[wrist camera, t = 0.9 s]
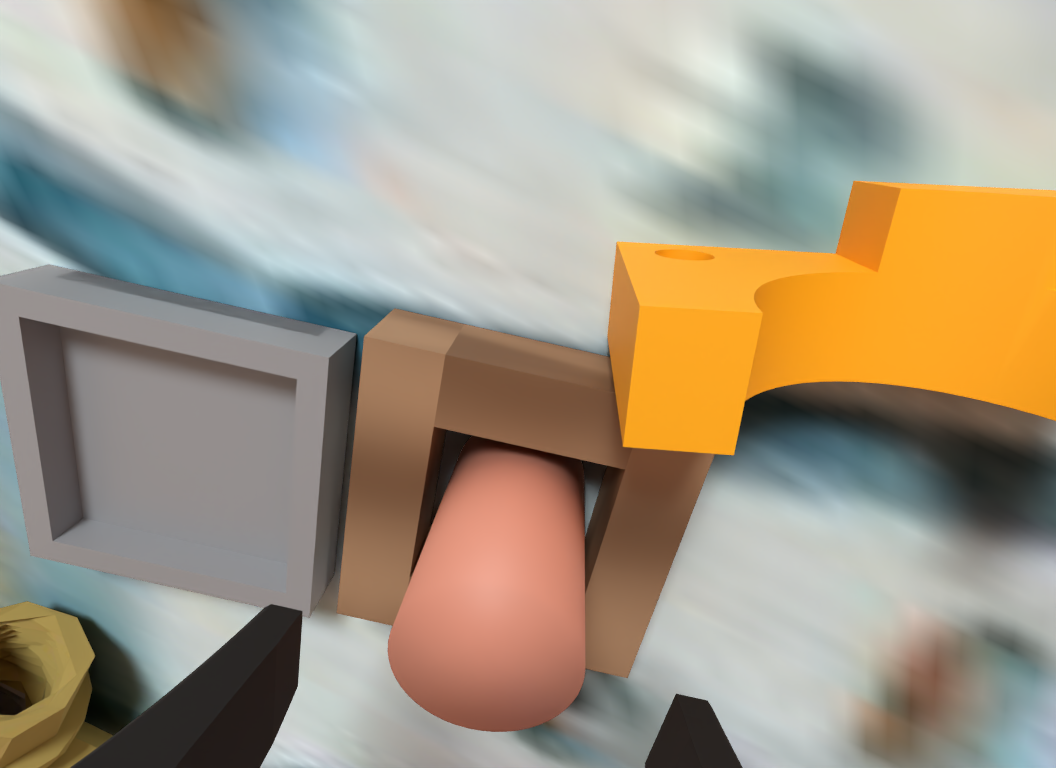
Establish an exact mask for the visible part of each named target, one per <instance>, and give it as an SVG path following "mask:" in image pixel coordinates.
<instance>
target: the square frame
mask: <svg viewBox="0 0 1056 768" xmlns="http://www.w3.org/2000/svg"><path fill="white" fill-rule="evenodd" d="M446 429H447V430H451V431H456V432H460V433H464V434H469V435H473V436H478V437H482V438H487V439H491V440H496V441H500V442H505V443H509V444H513V445H518V446H522V447H527V448H531V449H536V450H540V451H545V452H549V453H553V454H558V455H562V456H567V457H571V458H576V459H580V460H585V461H589V462H593V463H598V464H602V465H607V468H606V471H605V474H604V477H603V481H602V484H601V487H600V490H599V494H598V497H597V500H596V504H595V507H594V510H593V513H592V517H591V520H590V523H589V526H588V530H587V533H586V536H585V664H586V666H585V669H589V670H594V671H598V672H603V673H607V674H612V675H616V676H621V677H625V678H628V675H629V673H630V670H631V668H632V665H633V663H634V660H635V657H636V655H637V652H638V650H639V647H640V645H641V642H642V640H643V637H644V634H645V632H646V629H647V627H648V624H649V622H650V619H651V616H652V614H653V611H654V609H655V606H656V604H657V601H658V598H659V596H660V593H661V591H662V588H663V586H664V583H665V581H666V578H667V575H668V573H669V570H670V568H671V565H672V563H673V560H674V557H675V555H676V552H677V550H678V547H679V545H680V542H681V540H682V537H683V534H684V532H685V529H686V527H687V524H688V522H689V519H690V516H691V514H692V511H693V509H694V506H695V504H696V501H697V498H698V496H699V493H700V491H701V488H702V486H703V483H704V481H705V478H706V475H707V473H708V470H709V468H710V465H711V463H712V460H713V457H714V455H715V454H711V453H697V452H684V451H671V450H658V449H644V448H631V447H623V443H622V436H621V429H620V422H619V415H618V408H617V401H616V393H615V386H614V379H613V372H612V365H611V358H610V357H608V356H603V355H599V354H594V353H590V352H585V351H581V350H577V349H572V348H568V347H563V346H559V345H554V344H550V343H546V342H541V341H537V340H532V339H528V338H523V337H519V336H515V335H510V334H506V333H501V332H497V331H492V330H488V329H484V328H479V327H475V326H470V325H466V324H461V323H457V322H453V321H448V320H444V319H439V318H435V317H430V316H426V315H422V314H417V313H413V312H408V311H404V310H399V309H394V310H392V311H391V312H390V313H389V314H388V315H387V316H386V317H385V318H384V319H383V320H381V321H380V322H379V323H378V324H377V325H376V326H375V327H374V328H373V329H372V330H371V331H369V332H368V333H367V334H366V335H365V336H364V344H363V354H362V364H361V374H360V384H359V394H358V404H357V414H356V424H355V434H354V444H353V454H352V464H351V474H350V484H349V494H348V504H347V514H346V524H345V534H344V544H343V554H342V564H341V574H340V584H339V595H338V605H337V613H338V614H343V615H347V616H352V617H356V618H361V619H365V620H370V621H374V622H379V623H383V624H388V625H392V626H393V624H394V622H395V619H396V616H397V614H398V611H399V609H400V606H401V604H402V601H403V598H404V596H405V593H406V591H407V588H408V586H409V583H410V580H411V578H412V575H413V573H414V570H415V568H416V565H417V562H418V560H419V557H420V555H421V552H422V550H423V547H424V544H425V542H426V539H427V537H428V534H429V532H430V529H431V526H432V524H430V522H431V516H432V510H433V505H434V499H435V493H436V487H437V481H438V475H439V470H440V464H441V458H442V452H443V446H444V440H445V435H446Z"/></svg>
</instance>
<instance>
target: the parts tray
mask: <svg viewBox="0 0 1056 768" xmlns="http://www.w3.org/2000/svg"><path fill="white" fill-rule="evenodd" d="M356 336H357V334H356V333H351V332H347V331H342V330H338V329H333V328H329V327H324V326H320V325H316V324H311V323H307V322H302V321H298V320H293V319H289V318H285V317H280V316H276V315H271V314H267V313H262V312H258V311H254V310H249V309H245V308H240V307H236V306H231V305H227V304H222V303H218V302H214V301H209V300H205V299H200V298H196V297H191V296H187V295H183V294H178V293H174V292H169V291H165V290H160V289H156V288H152V287H147V286H143V285H138V284H134V283H129V282H125V281H120V280H116V279H112V278H107V277H103V276H98V275H94V274H89V273H85V272H81V271H76V270H72V269H67V268H63V267H58V266H54V265H50V264H49V265H45V266H40V267H36V268H32V269H28V270H23V271H19V272H15V273H11V274H7V275H2V276H0V380H1V386H2V392H3V397H4V403H5V409H6V415H7V421H8V426H9V432H10V438H11V444H12V450H13V455H14V461H15V467H16V473H17V479H18V484H19V490H20V496H21V502H22V508H23V514H24V519H25V525H26V531H27V537H28V543H29V548H30V554H31V556H35V557H39V558H44V559H48V560H53V561H57V562H62V563H66V564H71V565H75V566H80V567H84V568H89V569H93V570H98V571H102V572H107V573H111V574H115V575H120V576H124V577H129V578H133V579H138V580H142V581H147V582H151V583H156V584H160V585H165V586H169V587H174V588H178V589H183V590H187V591H192V592H196V593H201V594H205V595H210V596H214V597H219V598H223V599H228V600H232V601H236V602H241V603H245V604H250V605H254V606H259V607H263V608H265V607H266V606H268V605H270V604H274V605H278V606H283V607H287V608H292V609H296V610H301V611H303V614H302V616H304V617H308V618H310V616H311V614H312V612H313V611H314V609H315V607H316V605H317V604H318V602H319V600H320V598H321V597H322V595H323V593H324V591H325V590H326V588H327V586H328V584H329V582H330V581H331V579H332V577H333V575H334V570H335V559H336V549H337V538H338V527H339V517H340V506H341V495H342V485H343V474H344V463H345V453H346V442H347V431H348V421H349V410H350V400H351V389H352V378H353V368H354V357H355V346H356Z"/></svg>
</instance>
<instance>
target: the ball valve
mask: <svg viewBox="0 0 1056 768" xmlns="http://www.w3.org/2000/svg"><path fill="white" fill-rule="evenodd" d="M94 657H95V654H94V652H93V650H92V648H91V646H90V644H89V642H88V640H87V637H86V635H85V633H84V631H83V629H82V627H81V625H80V623H79V620H78V618H77V617H74V616H71V615H68V614H65V613H62V612H59V611H56V610H52V609H49V608H46V607H43V606H40V605H37V604H34V603H31V602H28V601H27V602H23V603H19V604H15V605H11V606H7V607H3V608H0V768H70V767H71V766H73V765H74V764H76V763H77V762H78V761H80V760H81V759H83V758H84V757H85V756H87V755H88V754H89V753H91V752H92V751H94V750H95V749H96V748H98V747H99V746H100V745H102V744H103V743H104V742H106V741H107V740H108V739H110V738H111V737H112V736H113V735H111V734H109V733H107V732H105V731H103V730H101V729H99V728H97V727H95V726H93V725H91V724H89V723H87V722H85V721H84V720H85V717H86V713H87V708H88V704H89V700H90V696H91V692H92V685H91V681H90V676H89V672H88V670H89V667H90V665H91V663H92V661H93V659H94Z"/></svg>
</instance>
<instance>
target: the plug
mask: <svg viewBox="0 0 1056 768" xmlns="http://www.w3.org/2000/svg"><path fill="white" fill-rule="evenodd" d="M388 656H389V662H390V665H391V669H392V671H393V673H394V676H395V678H396V680H397V681H398V683H399V684H400V686H401V687H402V688H403V690H404V691H405V692H406V693H407V694H408V696H409V697H411V698H412V699H413V700H414V701H415V702H416V703H417V704H418V705H420V706H421V707H422V708H424V709H425V710H427V711H428V712H430V713H431V714H433V715H435V716H437V717H439V718H441V719H443V720H445V721H447V722H450V723H453V724H455V725H458V726H462V727H466V728H469V729H475V730H481V731H491V732H506V731H517V730H522V729H527V728H531V727H534V726H537V725H540V724H542V723H544V722H547V721H549V720H551V719H552V718H554V717H556V716H557V715H559V714H560V713H561V712H563V711H564V710H565V709H566V708H567V707H568V706H569V705H570V704H571V703H572V702H573V701H574V699H575V698H576V696H577V695H578V693H579V691H580V689H581V687H582V685H583V681H584V677H585V666H586V664H585V505H584V469H583V465H582V462H581V460H580V459H576V458H571V457H567V456H562V455H558V454H553V453H549V452H545V451H540V450H536V449H531V448H527V447H522V446H518V445H513V444H509V443H505V442H500V441H496V440H491V439H487V438H482V437H478V436H471V437H470V439H469V440H468V441H467V442H466V443H465V445H464V447H463V448H462V450H461V452H460V455H459V457H458V460H457V462H456V465H455V467H454V470H453V472H452V475H451V478H450V480H449V483H448V485H447V488H446V490H445V493H444V496H443V498H442V501H441V503H440V506H439V508H438V511H437V514H436V516H435V519H434V521H433V524H432V526H431V529H430V532H429V534H428V537H427V539H426V542H425V544H424V547H423V550H422V552H421V555H420V557H419V560H418V562H417V565H416V568H415V570H414V573H413V575H412V578H411V580H410V583H409V586H408V588H407V591H406V593H405V596H404V598H403V601H402V604H401V606H400V609H399V611H398V614H397V616H396V619H395V622H394V624H393V627H392V629H391V632H390V636H389V640H388Z"/></svg>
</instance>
